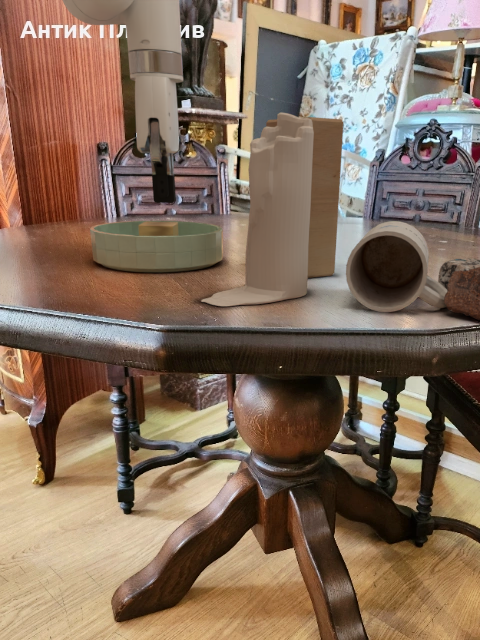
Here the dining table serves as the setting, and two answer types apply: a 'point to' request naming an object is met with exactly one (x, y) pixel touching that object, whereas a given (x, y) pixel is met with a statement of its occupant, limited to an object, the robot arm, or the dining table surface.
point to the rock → (455, 268)
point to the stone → (464, 293)
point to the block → (158, 229)
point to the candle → (277, 215)
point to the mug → (392, 269)
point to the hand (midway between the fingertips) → (165, 202)
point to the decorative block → (323, 194)
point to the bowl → (156, 247)
